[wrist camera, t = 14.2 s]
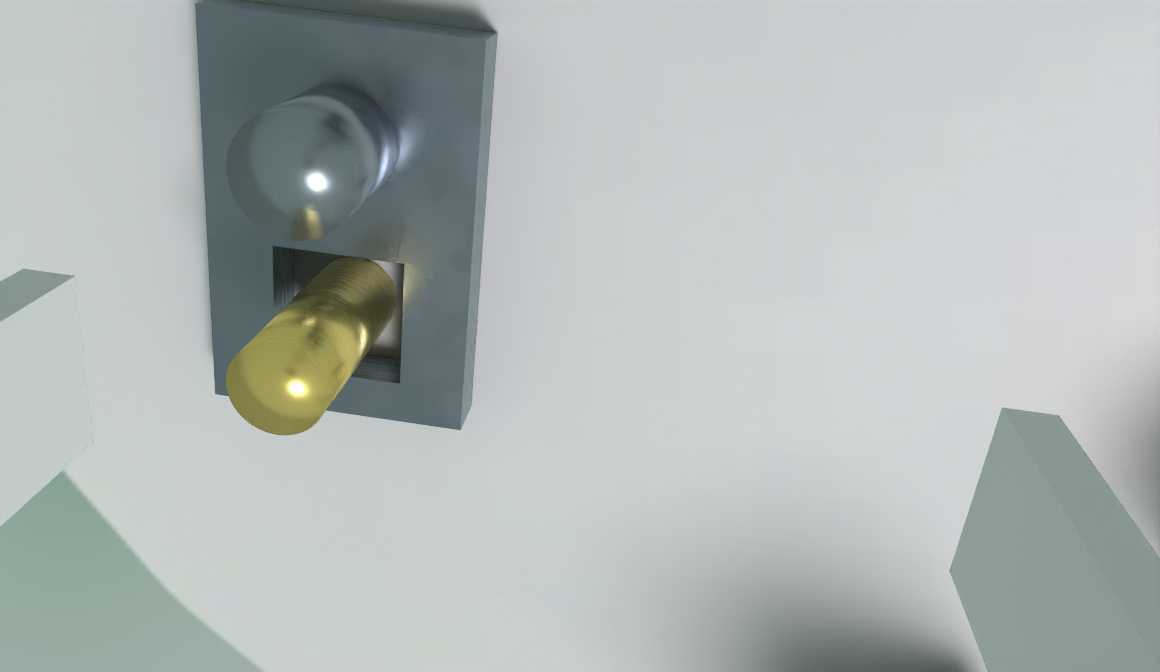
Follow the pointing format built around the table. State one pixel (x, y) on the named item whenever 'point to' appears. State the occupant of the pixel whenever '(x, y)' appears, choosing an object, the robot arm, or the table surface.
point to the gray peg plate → (349, 183)
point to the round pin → (311, 347)
